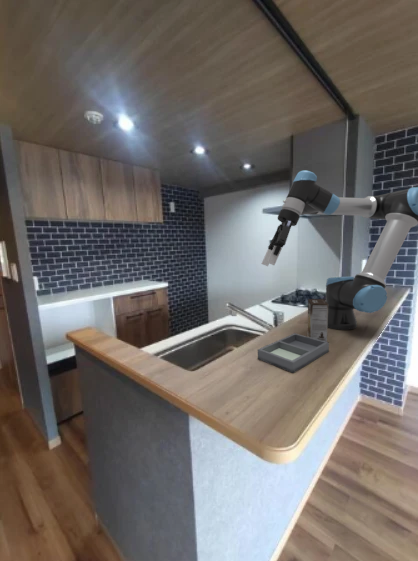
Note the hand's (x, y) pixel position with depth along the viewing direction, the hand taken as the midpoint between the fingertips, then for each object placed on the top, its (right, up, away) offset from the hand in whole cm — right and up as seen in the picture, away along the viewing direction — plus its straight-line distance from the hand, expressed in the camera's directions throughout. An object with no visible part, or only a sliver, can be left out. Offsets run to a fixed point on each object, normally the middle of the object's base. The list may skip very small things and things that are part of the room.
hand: (267, 264), depth 99 cm
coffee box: (+22, -30, +9) cm, 39 cm away
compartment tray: (+8, -33, -5) cm, 34 cm away
